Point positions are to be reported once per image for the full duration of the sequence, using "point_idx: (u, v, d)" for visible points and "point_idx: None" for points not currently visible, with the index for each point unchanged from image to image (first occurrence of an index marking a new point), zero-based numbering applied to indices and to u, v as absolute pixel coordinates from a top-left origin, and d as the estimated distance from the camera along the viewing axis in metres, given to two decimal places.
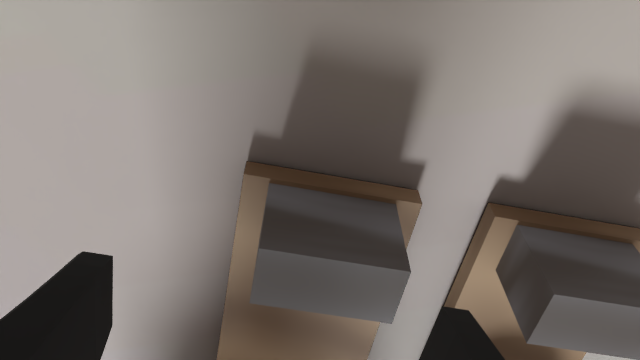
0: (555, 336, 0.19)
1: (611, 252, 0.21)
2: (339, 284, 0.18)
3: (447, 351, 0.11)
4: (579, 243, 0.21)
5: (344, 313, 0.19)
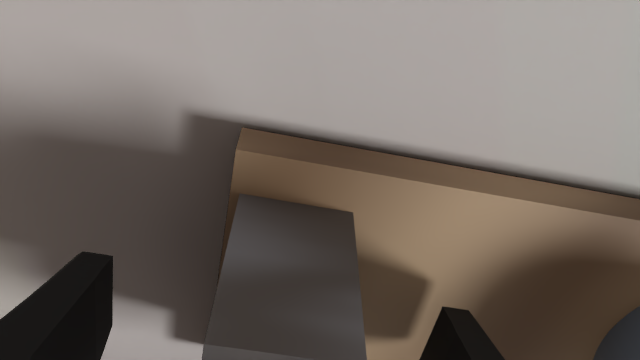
0: None
1: None
2: None
3: (447, 351, 0.11)
4: None
5: None
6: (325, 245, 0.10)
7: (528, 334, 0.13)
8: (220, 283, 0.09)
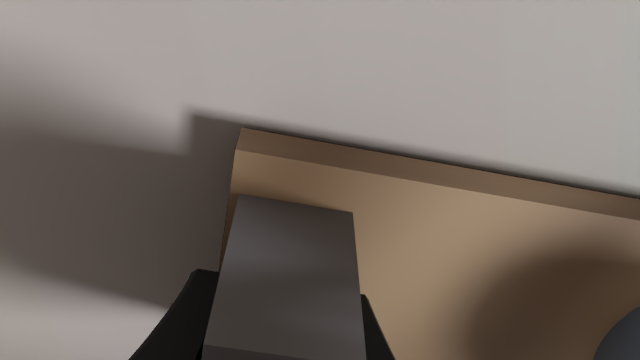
0: None
1: None
2: None
3: None
4: None
5: None
6: (325, 245, 0.10)
7: (528, 334, 0.13)
8: (219, 283, 0.09)
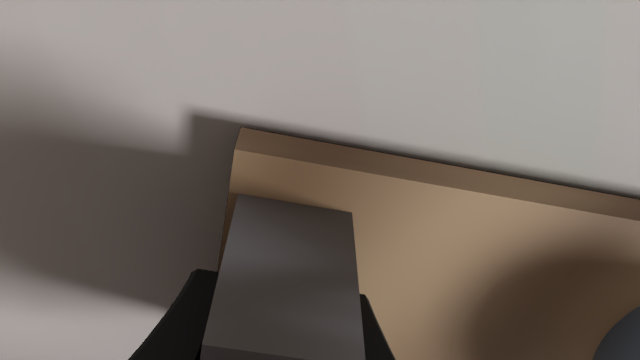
0: None
1: None
2: None
3: None
4: None
5: None
6: (324, 245, 0.10)
7: (527, 334, 0.13)
8: (218, 283, 0.09)
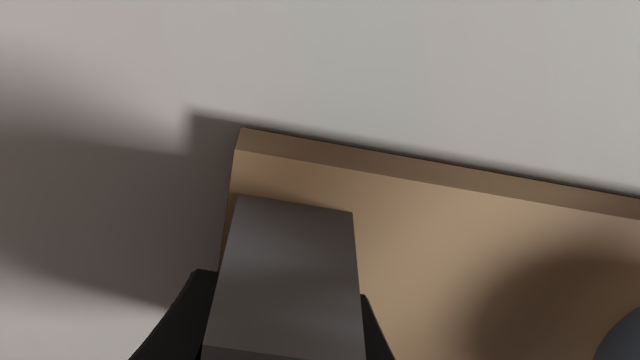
0: None
1: None
2: None
3: None
4: None
5: None
6: (324, 245, 0.10)
7: (528, 334, 0.13)
8: (219, 283, 0.09)
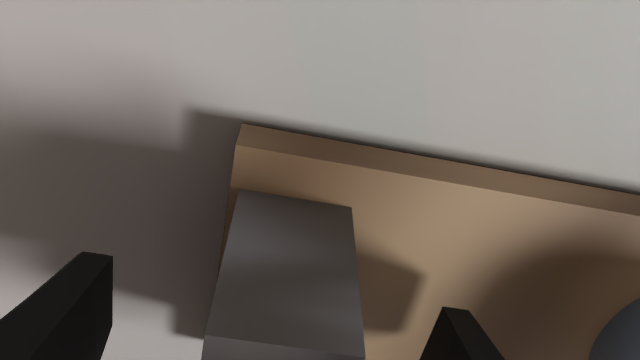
0: None
1: None
2: None
3: (447, 351, 0.11)
4: None
5: None
6: (324, 239, 0.10)
7: (525, 328, 0.13)
8: (220, 276, 0.09)
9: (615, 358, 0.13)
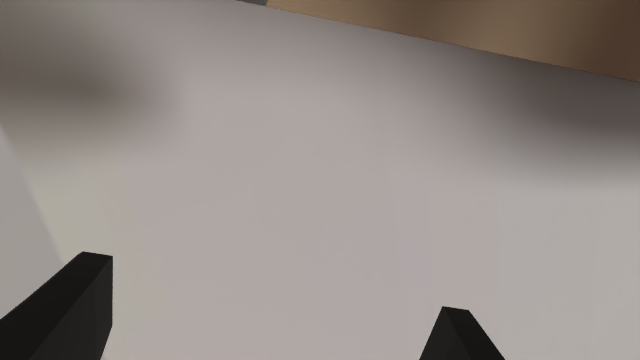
0: None
1: None
2: None
3: (447, 351, 0.11)
4: None
5: None
6: None
7: None
8: None
9: None
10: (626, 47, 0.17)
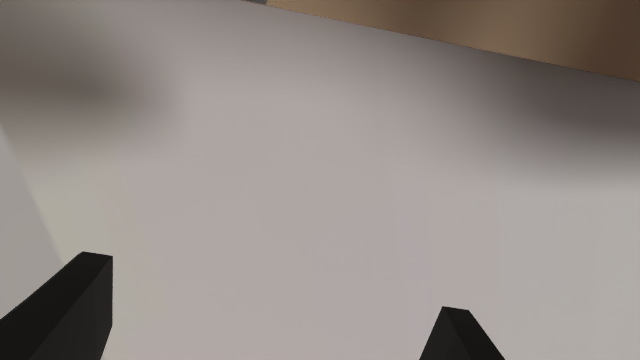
0: None
1: None
2: None
3: (447, 351, 0.11)
4: None
5: None
6: None
7: None
8: None
9: None
10: (626, 47, 0.17)
